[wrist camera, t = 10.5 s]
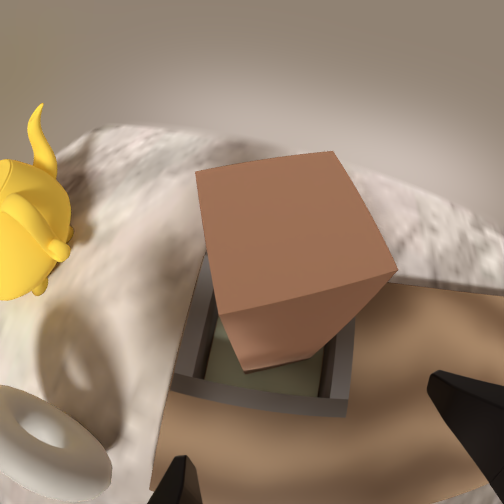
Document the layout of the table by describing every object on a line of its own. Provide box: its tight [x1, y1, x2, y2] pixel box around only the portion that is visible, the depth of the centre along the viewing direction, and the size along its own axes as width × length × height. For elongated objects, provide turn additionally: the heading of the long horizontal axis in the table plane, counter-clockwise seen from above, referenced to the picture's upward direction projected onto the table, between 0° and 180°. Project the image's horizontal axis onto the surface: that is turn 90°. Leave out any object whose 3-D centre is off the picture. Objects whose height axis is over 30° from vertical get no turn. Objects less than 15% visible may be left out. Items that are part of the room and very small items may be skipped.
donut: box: [0, 385, 112, 502], centre depth 10 cm, size 10×4×10 cm, turn 69°
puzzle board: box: [149, 250, 504, 504], centre depth 13 cm, size 17×42×4 cm, turn 80°
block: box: [195, 151, 398, 374], centre depth 12 cm, size 4×4×12 cm
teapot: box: [0, 103, 74, 301], centre depth 17 cm, size 20×15×12 cm
